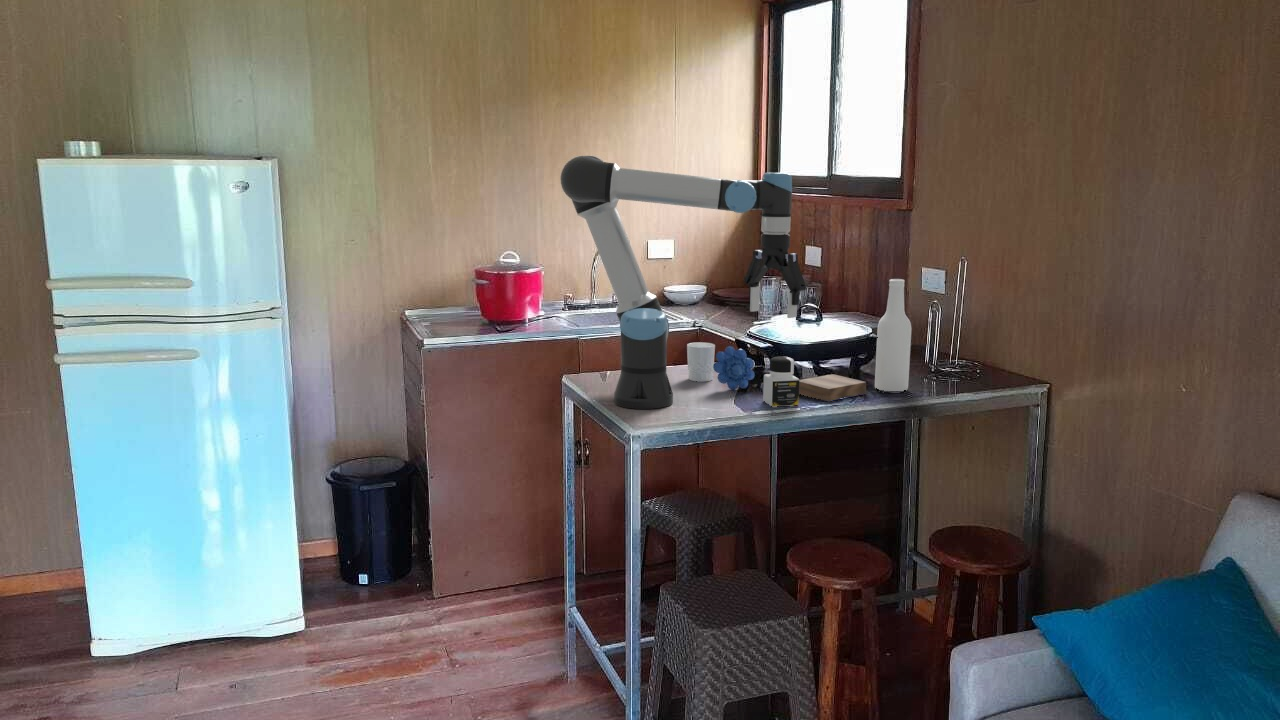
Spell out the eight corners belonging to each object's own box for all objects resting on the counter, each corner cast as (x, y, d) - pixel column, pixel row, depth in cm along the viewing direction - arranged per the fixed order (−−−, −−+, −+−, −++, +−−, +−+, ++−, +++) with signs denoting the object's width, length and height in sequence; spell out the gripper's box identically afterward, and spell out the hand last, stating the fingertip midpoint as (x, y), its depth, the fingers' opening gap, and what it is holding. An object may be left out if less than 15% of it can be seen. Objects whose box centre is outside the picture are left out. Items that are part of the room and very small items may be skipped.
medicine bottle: (771, 407, 239) (773, 360, 236) (762, 401, 245) (763, 355, 243) (798, 406, 240) (800, 359, 238) (788, 399, 247) (790, 354, 244)
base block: (828, 402, 244) (828, 388, 243) (795, 393, 254) (795, 380, 253) (865, 394, 252) (866, 382, 251) (832, 386, 262) (832, 374, 261)
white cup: (715, 382, 267) (715, 347, 265) (687, 382, 267) (687, 347, 265) (713, 376, 274) (714, 342, 272) (686, 376, 274) (686, 342, 272)
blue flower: (717, 394, 253) (718, 349, 250) (710, 388, 259) (711, 345, 257) (759, 392, 255) (760, 348, 253) (751, 386, 261) (752, 343, 259)
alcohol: (909, 394, 253) (916, 281, 247) (875, 393, 254) (881, 281, 248) (906, 387, 261) (912, 278, 255) (873, 385, 262) (878, 277, 256)
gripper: (822, 235, 239) (818, 318, 243) (751, 230, 258) (749, 307, 263) (801, 236, 235) (798, 321, 239) (731, 231, 254) (729, 309, 258)
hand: (772, 314), depth 251 cm, fingers open, 13 cm apart
